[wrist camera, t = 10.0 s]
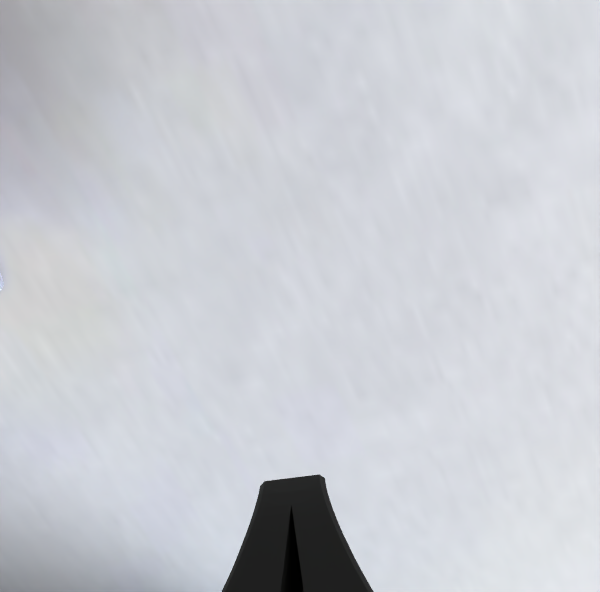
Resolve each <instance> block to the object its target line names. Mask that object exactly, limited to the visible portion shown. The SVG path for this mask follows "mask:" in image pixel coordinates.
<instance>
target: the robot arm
mask: <svg viewBox="0 0 600 592" xmlns="http://www.w3.org/2000/svg"><path fill="white" fill-rule="evenodd" d="M3 285H4V284H3V279H2V276H1V274H0V291H1V290H2V288H3ZM222 592H373V590H372V589H371V587H370V585H369V583H368V582H367V580H366V578H365V576H364V574H363V573H362V571H361V569H360V567H359V565H358V563H357V562H356V560H355V558H354V556H353V554H352V552H351V550H350V547H349V545H348V543H347V541H346V539H345V537H344V535H343V533H342V531H341V528H340V526H339V524H338V521H337V519H336V516H335V514H334V511H333V508H332V506H331V503H330V500H329V496H328V493H327V488H326V484H325V478H324V477H322V476H321V475H312V476H304V477H296V478H288V479H280V480H272V481H265V482H264V483H263V484H262V485H261V486H260V490H259V495H258V499H257V502H256V506H255V509H254V513H253V516H252V519H251V522H250V525H249V527H248V530H247V533H246V536H245V538H244V541H243V544H242V546H241V549H240V551H239V554H238V556H237V559H236V561H235V564H234V566H233V568H232V571H231V573H230V575H229V577H228V579H227V582H226V584H225V586H224V588H223V590H222Z"/></svg>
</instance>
